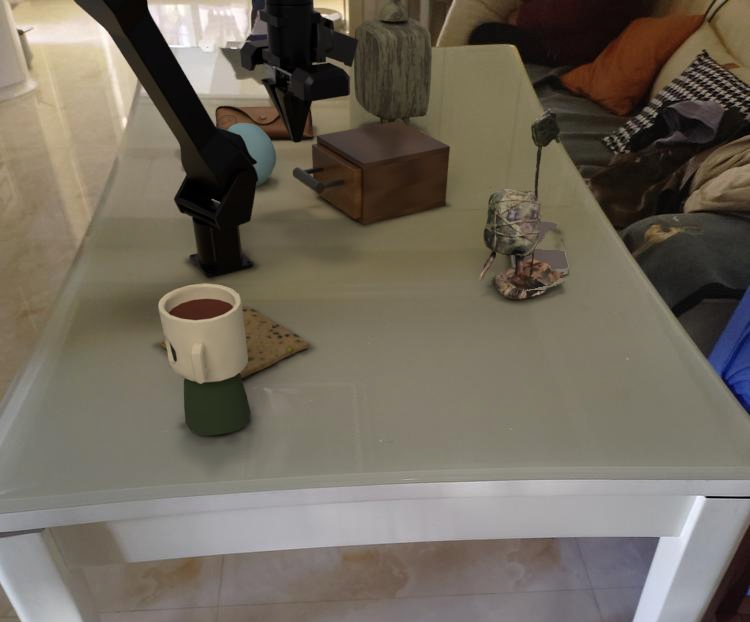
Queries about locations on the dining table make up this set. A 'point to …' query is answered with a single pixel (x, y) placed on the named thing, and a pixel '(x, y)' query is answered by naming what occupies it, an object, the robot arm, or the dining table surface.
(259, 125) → the sunglasses case
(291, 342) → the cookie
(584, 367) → the dining table surface
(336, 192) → the drawer
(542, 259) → the smartphone
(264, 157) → the light blue ball
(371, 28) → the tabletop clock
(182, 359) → the character mug
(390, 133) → the cabinet
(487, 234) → the plant with pod
